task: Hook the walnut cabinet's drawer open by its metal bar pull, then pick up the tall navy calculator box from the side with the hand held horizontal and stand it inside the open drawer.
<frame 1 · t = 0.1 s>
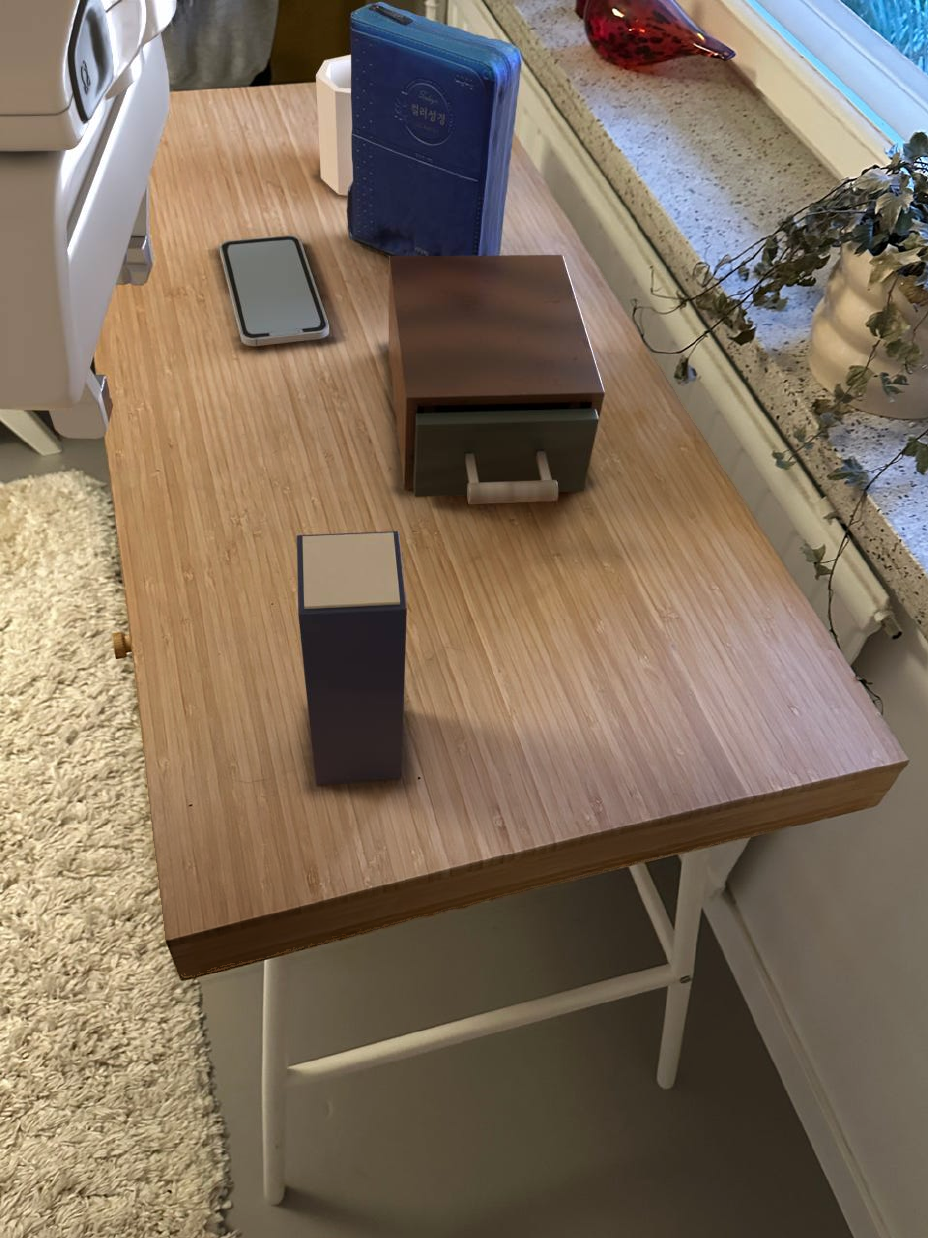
hand: (111, 345, 40), 27 cm above the table, tool pointing down, fingers open, 8 cm apart
smartphone: (273, 293, 88), on the table
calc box: (356, 745, 61), on the table
book: (422, 261, 93), on the table
mug: (367, 188, 100), on the table
cabinet: (481, 412, 80), on the table
drawer: (493, 406, 74), point 4 cm above the table, slide at 0.5 cm
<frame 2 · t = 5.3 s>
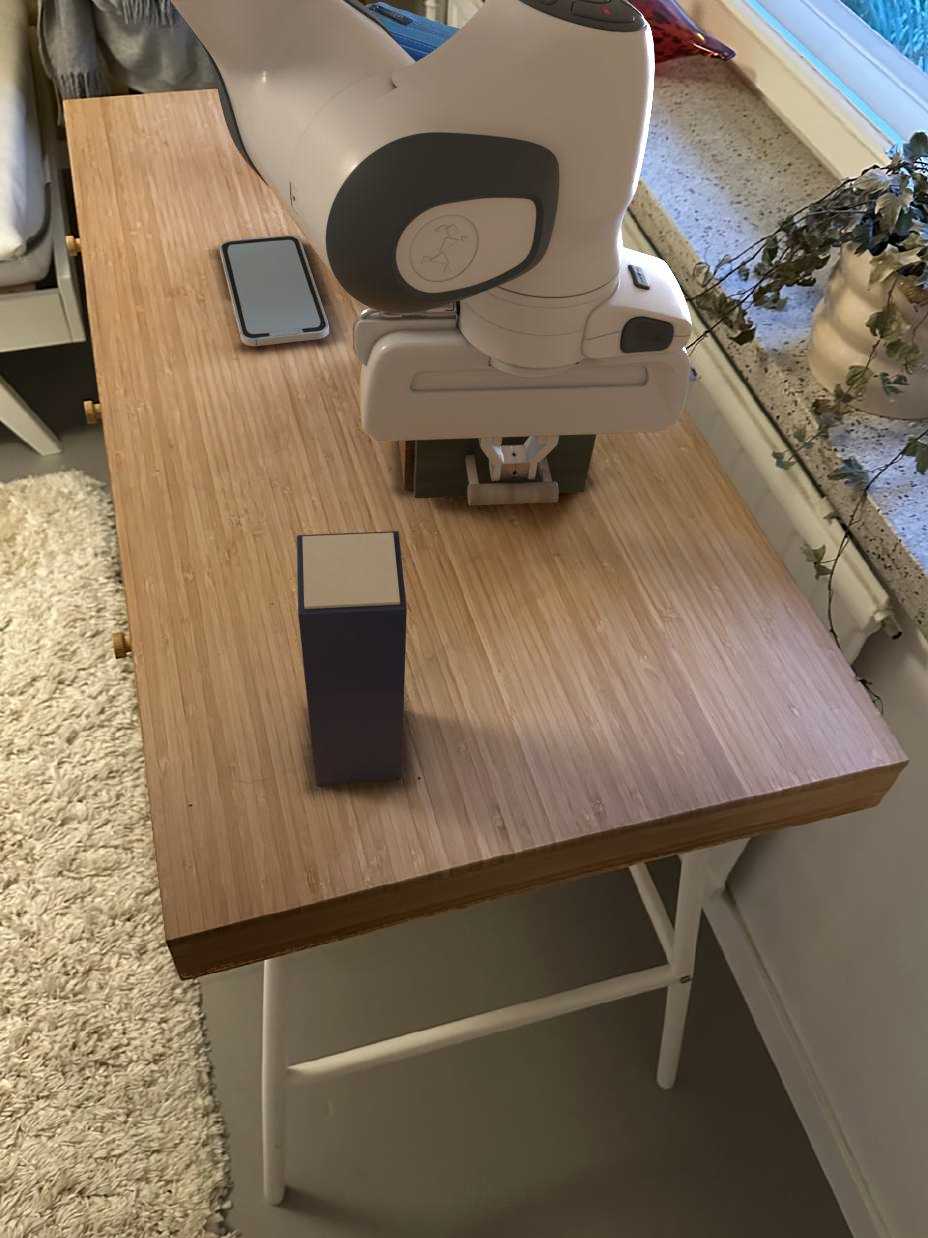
hand: (511, 473, 69), 5 cm above the table, tool pointing down, fingers closed, pressing on drawer
drawer: (494, 407, 74), point 4 cm above the table, slide at 0.6 cm, touching gripper
everything else where it was.
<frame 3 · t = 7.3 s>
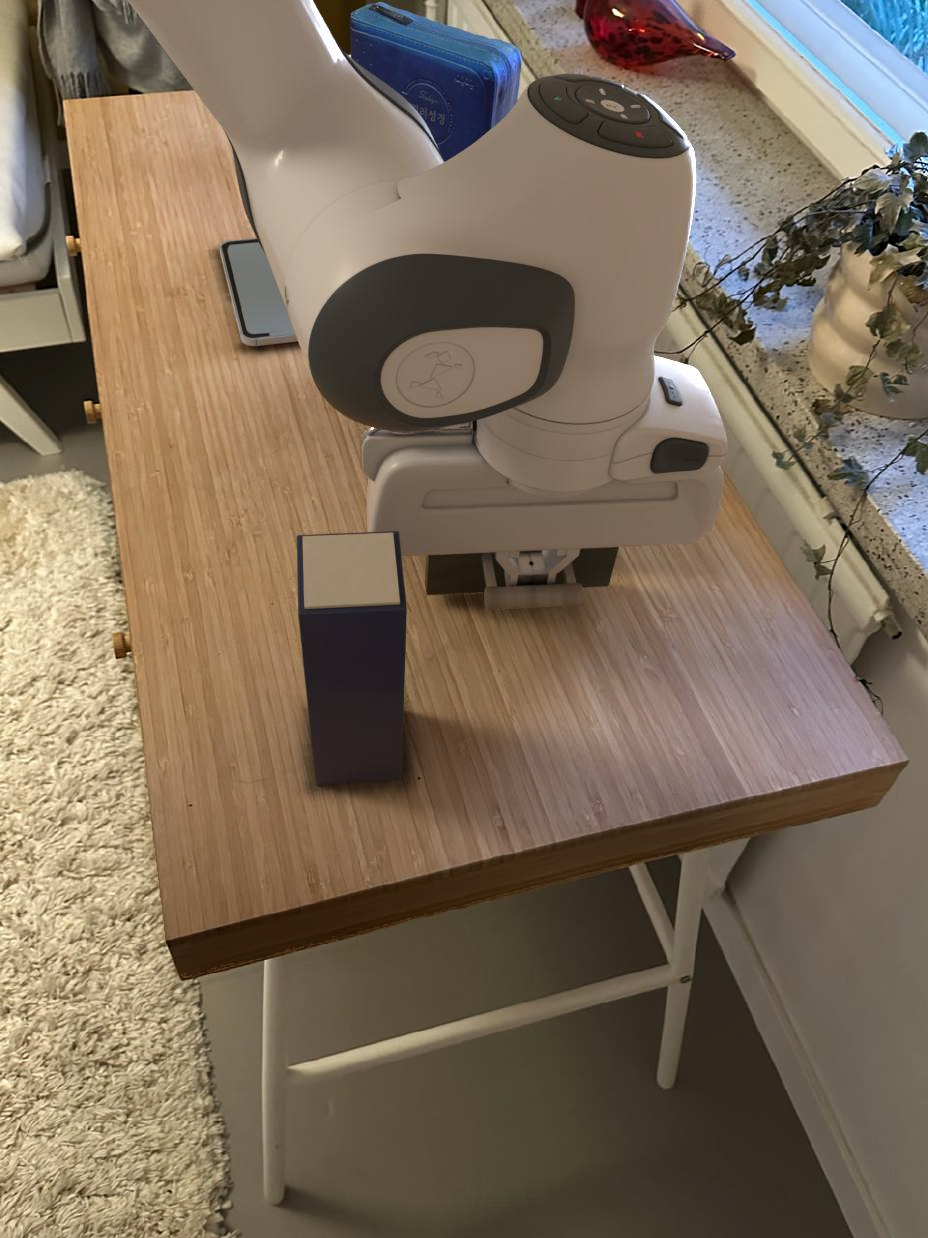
hand: (528, 581, 64), 4 cm above the table, tool pointing down, fingers closed, pressing on drawer
drawer: (511, 495, 69), point 4 cm above the table, slide at 9.6 cm, touching gripper
everything else where it was.
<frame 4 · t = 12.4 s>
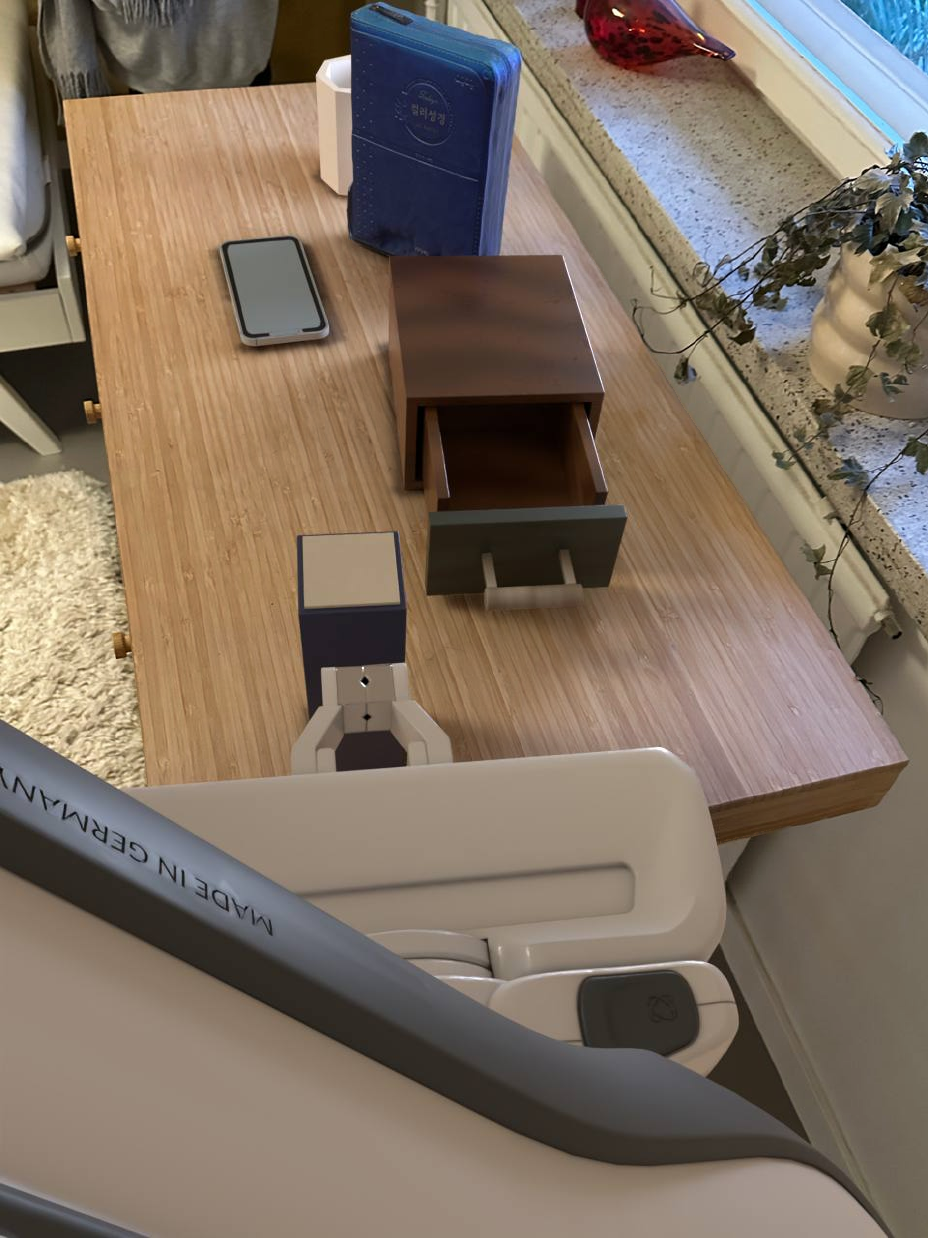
hand: (363, 674, 35), 24 cm above the table, tool horizontal, fingers closed
drawer: (511, 496, 69), point 4 cm above the table, slide at 9.7 cm
everything else where it was.
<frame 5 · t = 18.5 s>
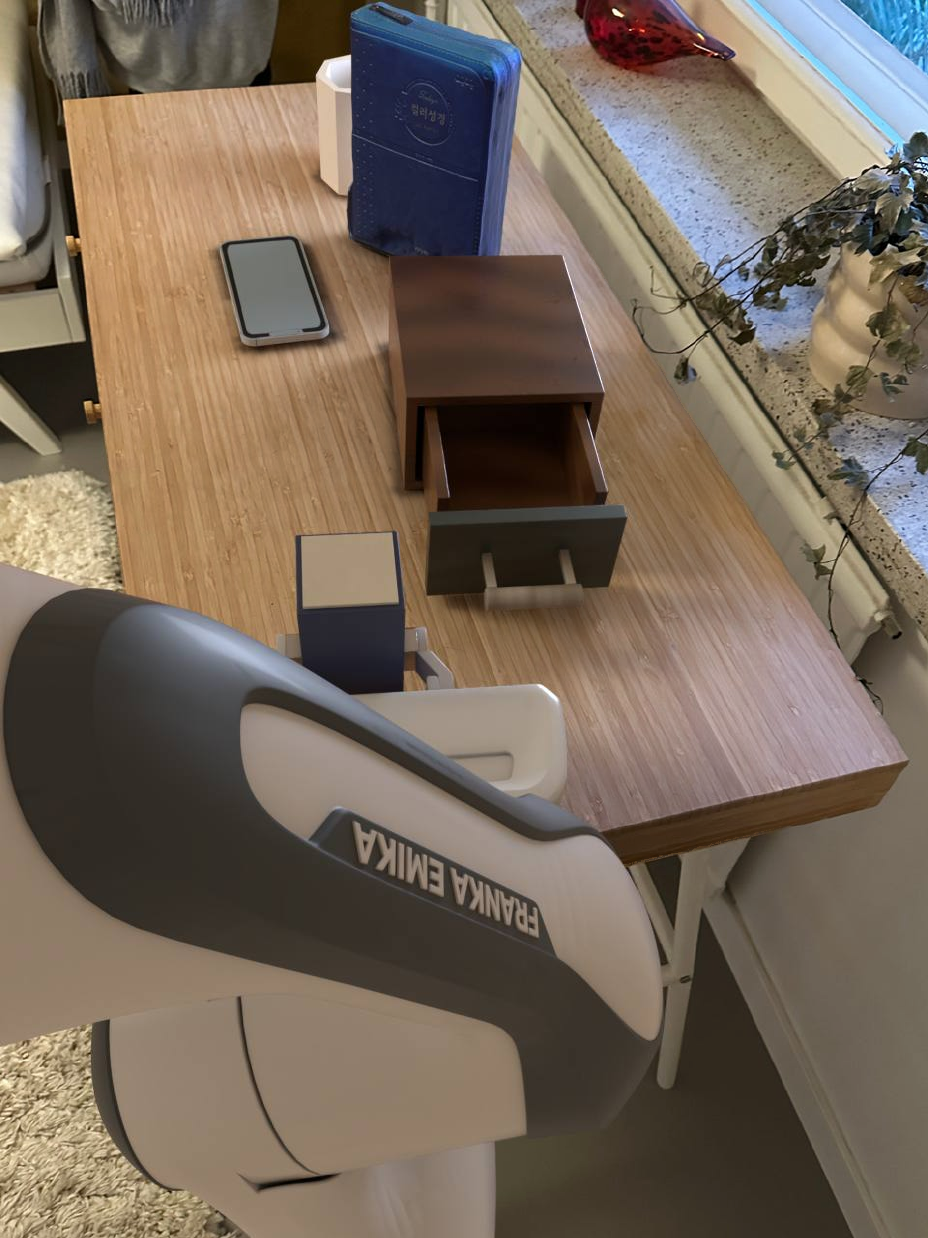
hand: (352, 636, 54), 10 cm above the table, tool horizontal, fingers closed on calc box, 5 cm apart
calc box: (356, 745, 61), on the table, touching gripper
everything else where it was.
when the fingers open (12 cm above the table, at t = 25.9 s): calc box stays where it is, resting on drawer.
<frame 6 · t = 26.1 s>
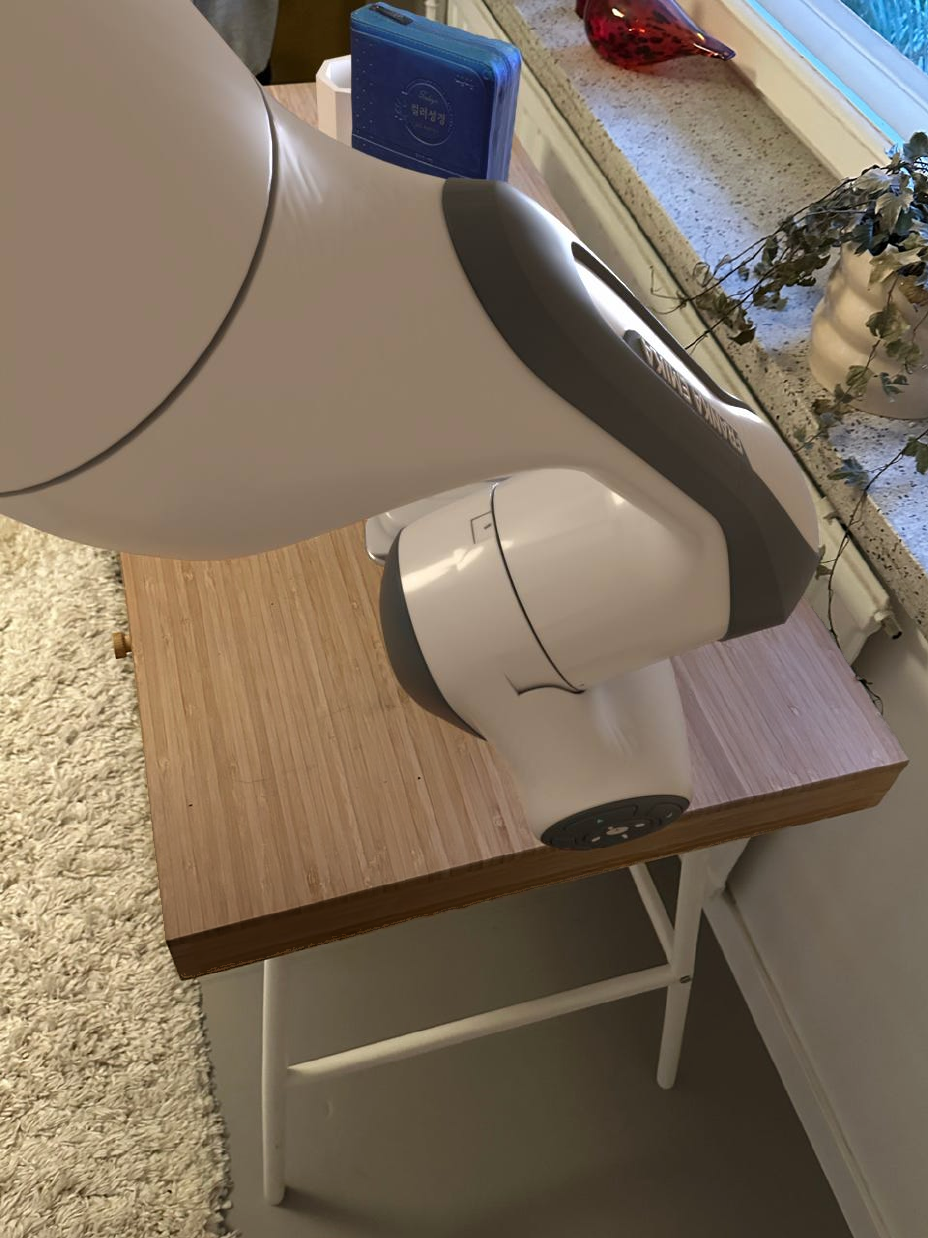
hand: (520, 400, 64), 11 cm above the table, tool horizontal, fingers open, 6 cm apart
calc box: (508, 515, 71), point 2 cm above the table, touching drawer
drawer: (511, 494, 69), point 4 cm above the table, slide at 9.5 cm, touching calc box
everything else where it was.
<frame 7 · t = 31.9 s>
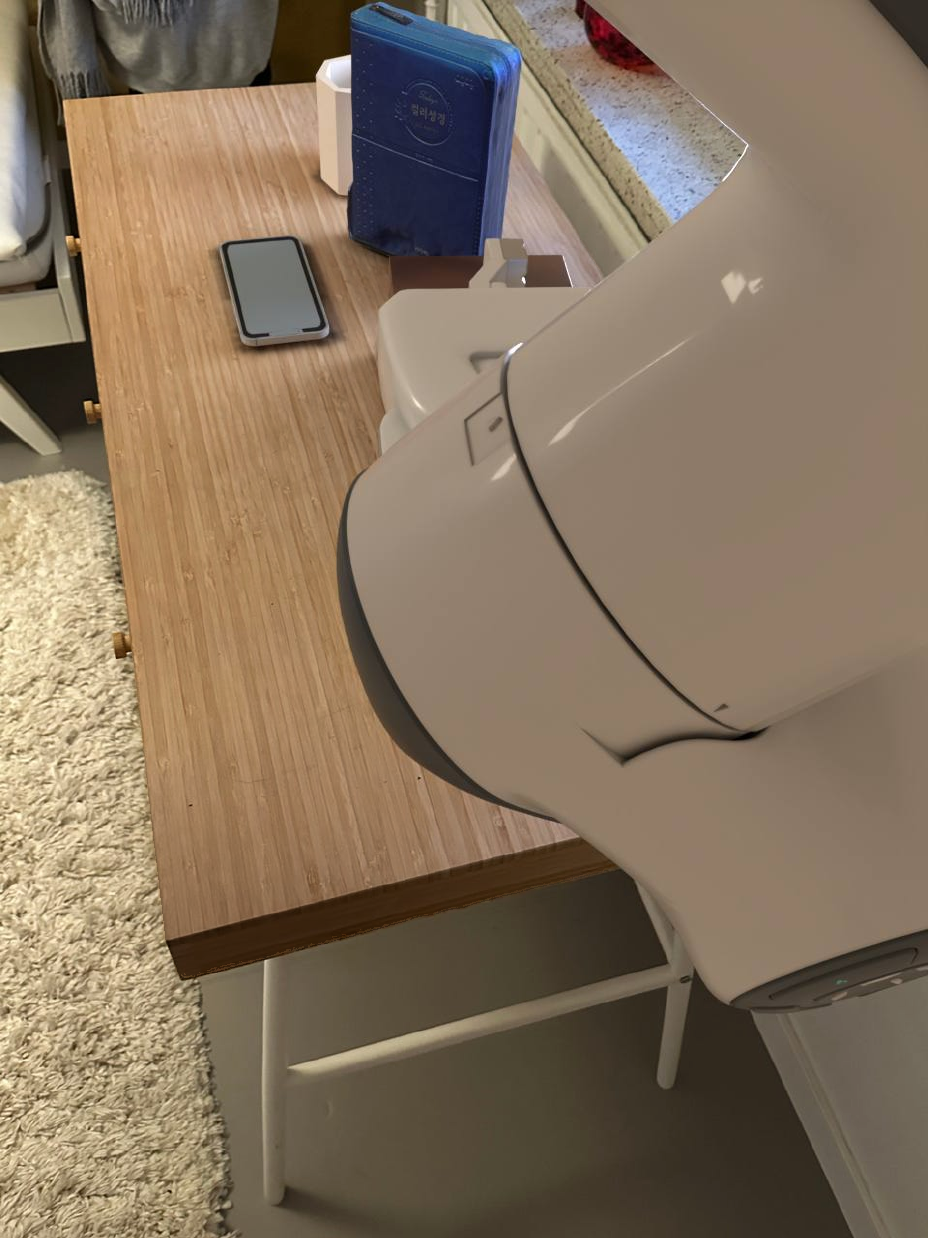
hand: (615, 252, 42), 30 cm above the table, tool horizontal, fingers open, 8 cm apart
nothing on the table moved.
at the end: drawer slide at 9.5 cm; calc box inside the target area in the drawer (0.3 cm from its centre), point 2.0 cm above the cabinet's base; the gripper is holding nothing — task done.
